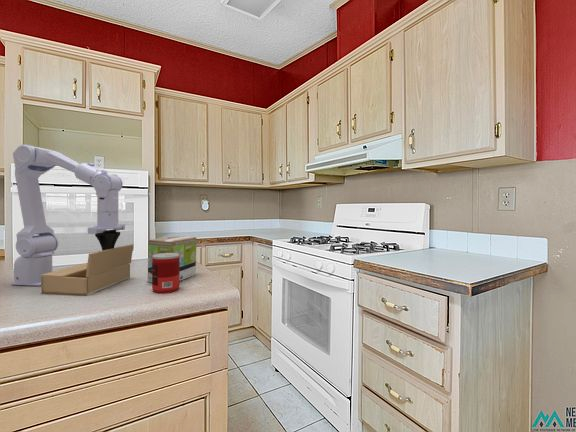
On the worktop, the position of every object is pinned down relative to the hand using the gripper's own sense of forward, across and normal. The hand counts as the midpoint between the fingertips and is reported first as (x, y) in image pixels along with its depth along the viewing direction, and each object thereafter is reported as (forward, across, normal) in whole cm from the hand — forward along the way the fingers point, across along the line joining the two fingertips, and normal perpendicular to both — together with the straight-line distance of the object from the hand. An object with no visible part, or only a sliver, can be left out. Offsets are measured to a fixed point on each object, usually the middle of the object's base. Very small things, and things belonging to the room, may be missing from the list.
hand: (107, 254), depth 93 cm
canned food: (+10, -1, -20) cm, 23 cm away
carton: (+10, 0, +6) cm, 12 cm away
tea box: (+10, +12, -16) cm, 23 cm away
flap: (+1, 0, -1) cm, 2 cm away
